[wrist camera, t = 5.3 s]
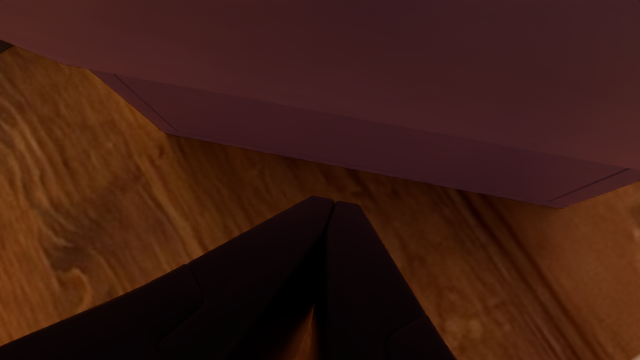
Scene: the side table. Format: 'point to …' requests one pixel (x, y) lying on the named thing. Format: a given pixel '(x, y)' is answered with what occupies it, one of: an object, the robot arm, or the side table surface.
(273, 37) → the lid
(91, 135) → the side table surface
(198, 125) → the file holder
